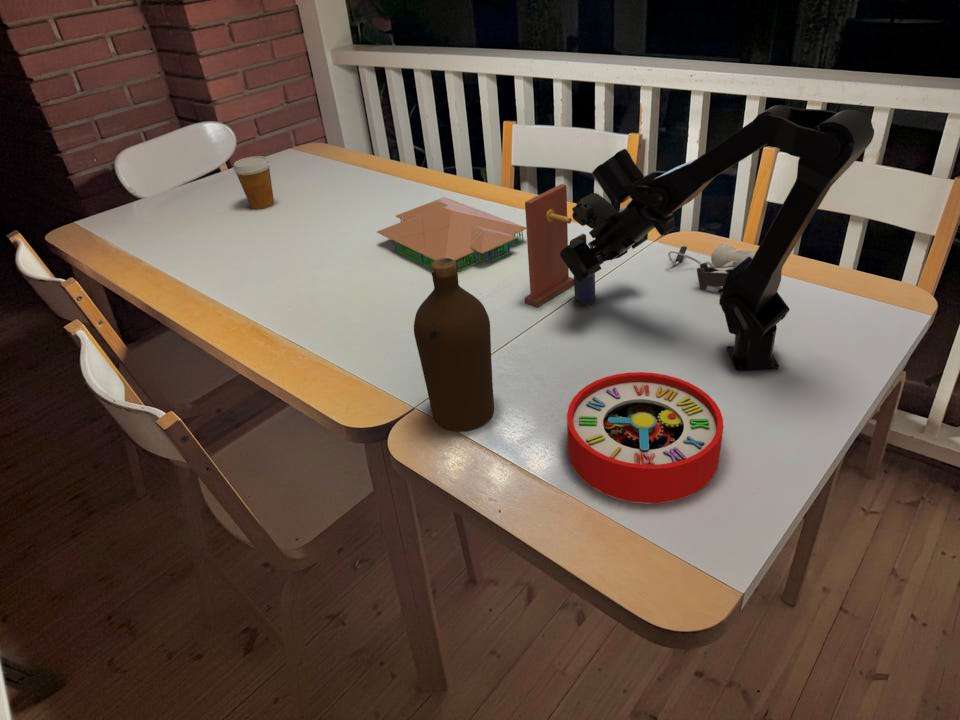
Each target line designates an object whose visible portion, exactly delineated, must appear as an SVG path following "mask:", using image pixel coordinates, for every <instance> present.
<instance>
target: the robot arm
mask: <svg viewBox="0 0 960 720" xmlns="http://www.w3.org/2000/svg"><path fill="white" fill-rule="evenodd" d="M874 136H875V129H874V127H873V123H872V121H871V119H870V118H869V117H868V115H867V114H865V113H864V112H863V111H860V110H857V109H844V110H841V111H835V110H829V109H818V108H817V109H814V108H799V107H798V108H797V107H794V106H789V105H783V104H776V105H774V106H771V107H770V108H768V109H766V110H764V111H762V112H761V113H759V114H757V116H756V117H755V118H754V119H753V120H752V121H750V122H749V123H747V124H746V125H744V126H743V127H742V128H740V129H739V130H737V131H735V132H734V133H733V134H731V135H730V136H728V137H726V138H725V139H724V140H722V141H721V142H720V143H718V144H717V145H715V146H713V147H712V148H711V149H709V150H708V151H707V152H705V153H703V154H702V155H700V156H699V157H697V158H695V159H692V160H690V161H687V162H685V163H683V164H681V165H677V166H676V167H674V168H671V169H670V170H668V171H660V170H653V171H651V172H650V173H647V174H646V175H644V174H643V172H642V171H641V170H640V168H639V167H638V166H637V163H636V162H634V160H633V158H632V156H631V153H630V152H629V151H628V150H627V149H626V148H623V149H620V150H619V151H617V152H616V153H615V154H614V155H613V156H611V157H610V158H608V159H607V160H605V161H604V162H603V163H601V164H599V165H598V166H596V167H595V168H594V169H593V171H592V172H591V175H592V177H593V178H594V179H595V181H596V182H597V183H598V186H600V188H601V189H602V191H603V192H604V193H605V195H606V196H607V197H608V199H609V201H610V202H609V201H608V200H607V199H605V198H604V197H603V196H602V195H600V194H599V193H596V192H591V193H589V194H587V195H586V196H583V197H582V198H580V199H579V201H578V202H576V205H575V206H573V207H572V210H571V211H572V214H571V215H572V216H571V217H572V219H573V220H574V221H575V222H576V223H577V224H579V225H580V226H581V227H584V226H587V227H588V228H590V229H591V230H589V232H588V234H589V235H590V236H591V238H592V239H593V240H590V241H589V242H588V243H587V241H586V242H585V241H583V240H579V239H578V240H577V241H575V242H573V243H571V244H570V243H569V244H568V246H566V247H565V248H564V249H563V250H562V251H561V252H560V257H561V258H562V259H563V261H564V262H565V264H566V265H567V266H568V270H569V271H570V273H571V274H572V275H573V277H574V276H575V278H576V279H577V281H580V282H582V281H584V280H585V279H587V278H589V277H590V276H592V275H593V274H594V273H595V274H596V273H598V272H599V271H600V270H602V269H603V268H602V267H601V265H603V264H604V262H607V261H612V260H616V259H620V258H621V257H622V256H624V255H626V254H628V251H629V250H630V249H631V248H632V250H634V249H636V248H638V247H639V246H641V245H642V244H643V243H645V242H646V241H648V238H649V233H650V232H652V230H654V229H655V230H656V231H657V233H658V234H659V236H664V235H665V234H667V233H669V232H670V231H672V230H673V229H675V227H676V223H675V214H674V212H676V211H677V210H679V209H680V208H682V207H683V206H685V205H687V204H688V203H690V202H692V201H693V200H694V199H695V198H696V197H697V196H698V195H699V194H701V193H702V192H703V191H704V190H705V189H706V188H707V187H708V186H709V184H710V183H711V182H712V181H713V180H714V179H715V178H716V177H719V176H720V175H721V174H722V173H724V172H725V171H727V170H729V169H730V168H732V167H734V166H735V165H736V164H738V163H740V162H742V161H743V160H744V159H746V158H748V157H749V156H751V155H752V154H754V153H756V152H757V151H759V150H760V149H762V148H764V147H765V146H767V145H770V146H773V147H775V148H778V149H779V150H780V151H782V152H784V153H786V154H787V155H789V156H793V157H796V158H798V160H797V170H796V171H797V172H796V177H795V178H796V179H795V182H794V183H793V185H792V187H791V188H790V191H789V192H788V194H787V196H786V198H785V200H784V201H783V203H782V205H781V207H780V209H778V212H777V214H776V216H775V217H774V219H773V221H772V223H771V225H770V226H769V228H768V229H767V232H766V234H765V235H764V237H763V238H762V241H761V243H760V245H759V246H758V248H757V250H756V251H755V252H756V253H755V255H754V257H753V259H752V258H751V257H750V256H749V257H747V258H746V259H745V260H743V261H742V262H741V263H740V264H738V265H737V266H736V267H734V268H733V269H732V270H730V272H729V274H728V276H727V279H726V282H725V285H724V286H721V287H720V288H719V290H717V292H718V293H720V294H721V295H720V296H719V299H718V301H719V303H718V305H719V306H720V307H721V310H722V312H723V313H724V316H725V321H726V325H727V330H728V333H730V334H731V335H735V336H734V341H733V342H734V343H733V345H727V346H726V347H725V351H726V353H727V355H728V357H729V359H730V362H731V364H732V366H733V368H734V370H735V371H736V372H751V371H768V370H770V371H771V370H779V368H780V365H779V362H778V361H777V359H776V357H775V355H774V353H773V352H774V347H775V341H776V335H777V329H778V326H777V325H778V324H779V323H780V322H781V321H783V319H785V317H786V316H787V315H788V313H789V312H790V307H789V306H788V305H787V303H786V302H785V301H784V299H783V298H782V296H781V295H780V294H779V292H778V291H779V288H780V284H781V282H782V274H783V273H782V270H783V267H784V265H785V264H786V262H787V261H788V259H789V258H790V255H791V254H792V252H793V250H794V248H795V247H796V245H797V243H798V242H799V241H800V239H801V237H802V235H803V234H804V232H805V231H806V230H807V229H806V228H808V225H810V222H811V221H812V219H813V217H814V215H815V214H816V213H817V210H818V209H819V207H820V205H821V204H822V202H823V200H824V199H825V197H826V196H827V194H828V192H829V191H830V189H831V188H832V186H833V185H834V184H835V183H836V182H837V181H838V180H839V178H841V177H842V176H843V174H844V173H845V172H847V171H848V169H849V168H851V166H852V165H853V164H854V163H855V162H856V161H857V160H858V159H859V157H860V156H861V155H862V154H863V153H864V152H865V151H866V149H868V147H869V146H870V144H871V143H872V142H873V139H874ZM629 199H631V200H630V201H629V202H628V203H627V204H626V205H625V206H624V207H622V208H620V209H618V210H617V209H616V208H615V207H614V204H616V203H617V202H619V204H623V203H625V202H627V201H628V200H629Z"/></svg>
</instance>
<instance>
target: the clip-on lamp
mask: <svg viewBox="0 0 960 720" xmlns="http://www.w3.org/2000/svg"><path fill="white" fill-rule="evenodd" d="M687 249H688V244H686V243H685V244H684V245H682V246H680V248H679V251H671V250H670V251H669V252H668V254H667V256H668V259H669V261H670V262H671V263H672V264H673V265H678V264H679V263H682V261H683V258H684V257H685V258H687V259H689V260H691V261H693V262H696V263H697V264H699V267H698V268H697V269H696V274H697V279H698V284H699V285H698V286H699V289H700V290H707V289H708V286H710V287H723V286H724V285H725V282H726V279H727V276H728V274H729V272H730V270H732V269H733V268H734V267H736V266H737V265H738V264H740V263H741V262H742V261H743V260H745V259H746V258H747V257H749V256H750V257H751V258H752V259H753V257H754V255H755V253H756V252H757V251H755V250H754V251H753V250H743V249H736V247H734V246H733V245H731V244H727V243H722V244H719V245H717V246H715V248H714V249H713V251H712V253H711V255H710V258H711V259H710V260H711V262H710V261H704V262H701V261H700V260H698V259H696V258H694V257H692V256H689V255H687V254H686V251H687ZM671 254H675V255H676V258H675V261H674V260H673V258H672V257H671Z"/></svg>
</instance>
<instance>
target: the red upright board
mask: <svg viewBox="0 0 960 720" xmlns="http://www.w3.org/2000/svg"><path fill="white" fill-rule="evenodd" d="M567 189H568V187H567V184H563V183H560V184H559V185H556V186H555V187H552V188H550V189H548V190H546V191H545V192H543V193H540V194H538V195H536V196H534V197H532V198H530V199H528V200H526V201H525V202H524V207H525V227H526V228H527V229H526V242H527V243H526V244H527V260H528V261H527V262H528V273H529V275H528V276H529V294H528V295H526V296H524V304H528V305H530V306H532V307H535V308H539V307H541V306H543V305H544V304H546V303H547V302H549V301H550V300H552V299H553V298H555V297H556V296H558V295H560V294H561V293H563V292H565V291H566V290H568V289H569V288H572V287H574V277H571V276H570V274H569V271H570V269H569V268H568V266H567V265H566V264H565V262H564V261H563V259H562V258H561V257H560V252H561V251H562V250H563V249H564V248H565V247H566V246H568V245H569V237H568V235H569V233H568V230H569V229H568V224H572V221H573V220H572V219H573V218H571V217H569V216H568V198H567V197H568V195H567V192H568V190H567Z"/></svg>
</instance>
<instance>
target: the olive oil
mask: <svg viewBox="0 0 960 720" xmlns="http://www.w3.org/2000/svg"><path fill="white" fill-rule="evenodd" d="M455 261H456V260H455ZM455 261H454V260H453V259H449V258H442V259H438V260H436V261H435V260H433V261H432V262H431V263H432V269H431V271H432V273H431V276H432V284H433V290H432V291H431V292H430V293H429V295H428V296H427V297H426V298H425V299H424V300H423V301H422V302H421V303H420V305H419V306H418V308H417V310H416V313H415V316H414V322H413V334H414V335H413V336H414V339H415V345H416V348H417V352H418V357H419V361H420V365H421V369H422V373H423V378H424V382H425V386H426V387H425V388H426V391H427V396H428V400H429V405H430V406H429V407H430V411H431V415H432V420H433V421H434V423H435V424H436V425H437V426H438V427H439V428H441V429H443V430H445V431H449V432H456V433H465V432H470V431H474V430H478V429H479V428H481V427H483V426H485V425H486V424H487V423H488V422H490V420H491V419H492V417H494V413H495V400H494V398H495V397H494V384H493V365H492V363H493V362H492V342H491V341H492V339H491V338H492V337H491V335H492V334H491V322H490V321H491V320H490V316H489V314H488V312H487V310H486V308H485V305H484V304H483V303H482V302H481V300H479V299H478V298H477V297H476V296H474V295H473V294H472V293H470V292H468V291H467V290H466V289H464V288H463V287H461V286H460V284H459V274H458V272H457V271H458V270H456V269H457V262H456V263H455Z"/></svg>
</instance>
